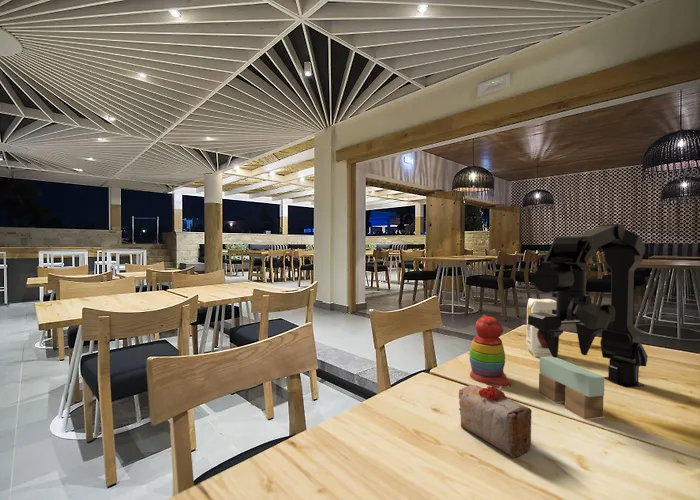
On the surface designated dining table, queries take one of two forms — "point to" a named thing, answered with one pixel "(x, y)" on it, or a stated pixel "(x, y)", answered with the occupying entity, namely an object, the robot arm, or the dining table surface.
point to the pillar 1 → (551, 388)
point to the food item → (496, 418)
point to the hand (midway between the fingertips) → (569, 356)
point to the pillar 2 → (583, 404)
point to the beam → (572, 376)
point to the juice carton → (534, 337)
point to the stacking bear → (488, 353)
